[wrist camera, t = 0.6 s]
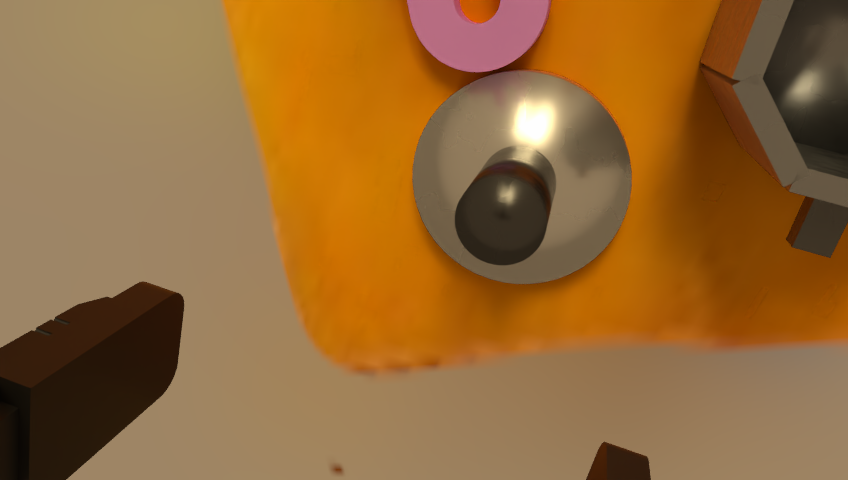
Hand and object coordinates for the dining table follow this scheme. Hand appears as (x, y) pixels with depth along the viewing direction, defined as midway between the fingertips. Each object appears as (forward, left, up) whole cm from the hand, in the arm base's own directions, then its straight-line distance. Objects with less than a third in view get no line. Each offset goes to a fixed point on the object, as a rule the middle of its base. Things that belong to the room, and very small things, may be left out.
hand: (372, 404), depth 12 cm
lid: (0, +1, -19) cm, 19 cm away
